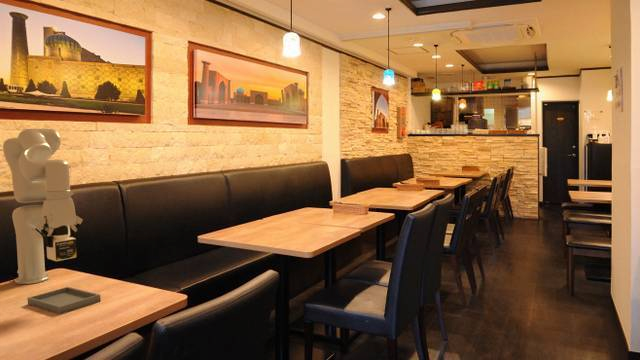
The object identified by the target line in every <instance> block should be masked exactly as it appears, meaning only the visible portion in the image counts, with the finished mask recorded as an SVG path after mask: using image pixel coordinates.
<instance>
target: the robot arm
mask: <svg viewBox="0 0 640 360" xmlns="http://www.w3.org/2000/svg"><path fill="white" fill-rule="evenodd" d="M61 141H62V140H61V136H60V133H59V132H58V131H57V130H56V129H53V128H26V129H23V130H21V131H20V132H19V133H18V135H17V137H10V138H8V139H6V140H5V141H4V142H3V145H2V150H3V156H4V158H5V160H6V163H7V164H8V166H9V169H10V173H11V179H12V190H13V195H14V199H15V200H16V201H17V202H18V203H22V204H23V203H27V204H28V203H37V202H43V204H32V205H31V204H30V205H23V206H20V207H17V208H15V209H14V210H13V212H12V217H11V218H12V222H13V226H14V231H15V235H16V236H15V240H16V251H17V252H16V253H17V254H16V255H17V266H18V267H17V268H18V269H17V272H16V273H17V274H18V277H16V278H14V283H15V284H18V285H30V284H36V283H42V282H45V281H47V280H49V279H50V276H51V275H50V274H48V273H46V268H45V267H46V266H45V264H46V263H45V249H44V247H45V246H46V248H47V247H53V236H51V234H52V232H53V230H54V229H56V228H58V227H60V226H70V236H69V237H72V238H75V239H76V240H77V231H78V229H79V228H80V226H81V224H82V222H83V220H84V219H83V218H81V217H80V216H78V215H76V214H77V213H76V207H75V203H74V199H73V198H72V195H74V191H73V190H71V178H70V177H71V176H70V165H69V162H67V161H66V160H62V159H49V158H50V157H51V156H53V155H54V154H55V153H56V152H57V151H58V150H59V149H60V146H61V143H62V142H61ZM37 230H38V231H37ZM43 237H44V238H43ZM44 242H45V246H44Z"/></svg>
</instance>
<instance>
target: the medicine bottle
mask: <svg viewBox="0 0 640 360" xmlns="http://www.w3.org/2000/svg"><path fill="white" fill-rule="evenodd" d="M51 236H53V247H47V246H46V258H47V259H48V260H51V261H54V262H61V261H64V260H70V259H75V258H77V243H76V242H77V241H76V240H77V238H76V239H75V238H72V237H69V236H70V226H60V227H58V228H56V229H54V230H53V232H52V234H51Z"/></svg>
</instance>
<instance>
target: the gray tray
mask: <svg viewBox="0 0 640 360" xmlns="http://www.w3.org/2000/svg"><path fill="white" fill-rule="evenodd" d="M99 302H101V294H99V293H96V292H91V291H88V290H83V289H79V288H75V287H71V286H66V287H65V286H64V287H62V288H59V289H54V290H51V291H47V292H44V293H40V294H37V295H36V294H35V295H33V296H29V297H27V305H28V306H32V307H36V308H39V309H41V310H42V309H43V310H44V311H48V312H52V313H55V314H58V315H62V314H64V313H68V312H71V311H74V310H77V309H80V308H83V307H84V308H85V307H87V306H90V305H93V304H96V303H99Z"/></svg>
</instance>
